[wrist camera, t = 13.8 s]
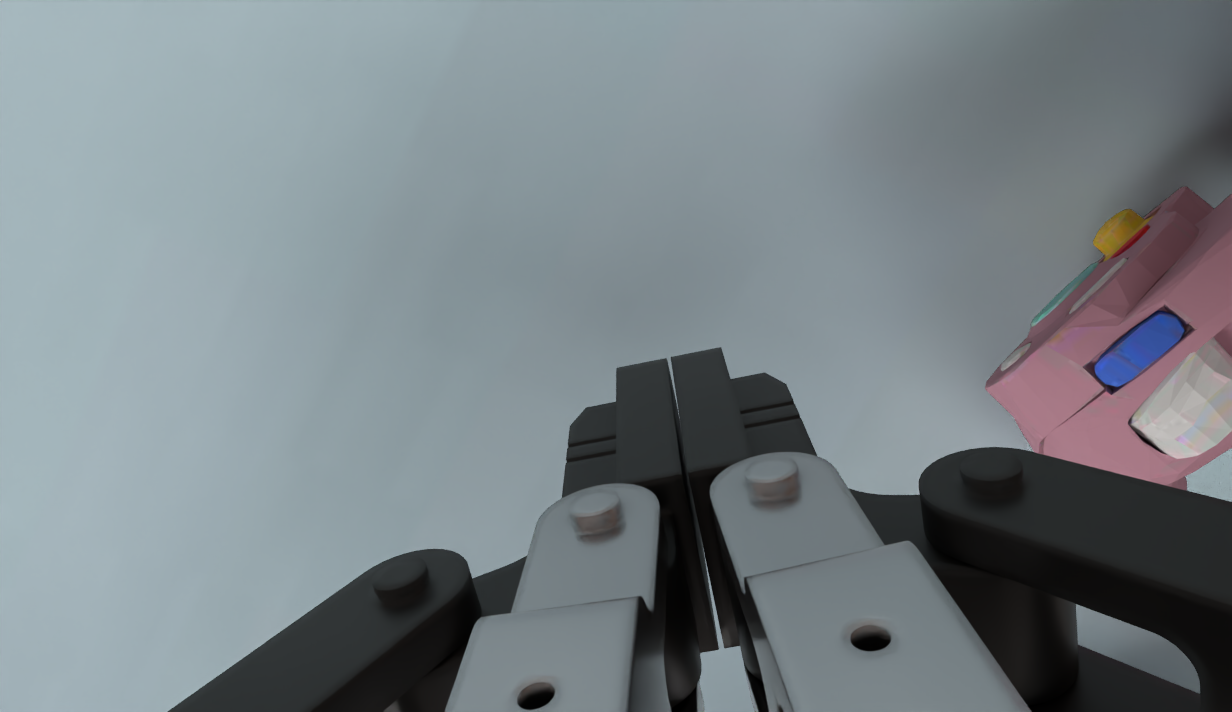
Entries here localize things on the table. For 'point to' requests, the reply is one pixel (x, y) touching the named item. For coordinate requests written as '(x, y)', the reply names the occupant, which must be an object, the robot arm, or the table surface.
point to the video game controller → (1135, 349)
